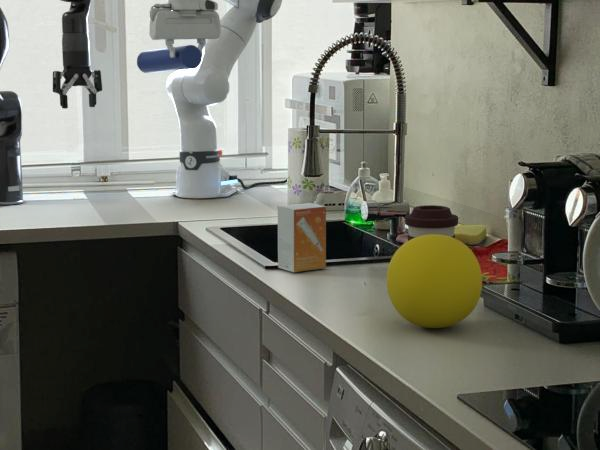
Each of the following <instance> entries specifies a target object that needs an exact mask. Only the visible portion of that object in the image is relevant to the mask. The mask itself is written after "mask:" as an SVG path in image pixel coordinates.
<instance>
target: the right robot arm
mask: <svg viewBox="0 0 600 450" xmlns="http://www.w3.org/2000/svg"><path fill="white" fill-rule="evenodd" d="M224 1H225V2H227V3H228V4H230V5H231V6H232V7H230V9H229V10H228V11H227V12H226V13H225V14H224V15H223V16H222V18H220V15H219V13H218V12H217V11H218V9H219V4H218V2H216V1H214V0H167V3H154V5H152V6H151V7H150V8H149V19H150V20H149V33H148V34H149V38H150V39H151V40H152V41H165V46H166V48H168V49H169V51H170V57H171V58H175V57H178V51H175V49H174V47H175V46H174V44H175V41H176V40H196V43H197V44H198V45H197V48H198V49H199V50H200V52H201V56H202V58H201V63H200V64H199V66H198V67H196V68H193V69H183V70H175V71H173V73H171V74H170V75H169V76H168V77H167V79H166V84H165V88H166V93H167V94H168V96H169V98H170V99H171V101H172V102H173V105H174V108H175V112H176V115H177V119H178V124H179V138H180V150H179V154H178V158H179V162H180V164H179V166H178V167H177V168H176V172H175V174H176V175H175V190H173V191H172V192H171V193H172V194H171V195H173V196H176V197H178V198H185V199H212V198H213V199H214V198H227V197H228V198H229V197H230V196H231V195H233V194H235V193H236V192H237V191H238V187H236V186H231V185H233V184H238V183H239V184H240V186H241V188H242V189H243V190H248V189H251V188H253V187H256V186H265V185H282V184H286V183H288V182H287V178H286V179H285V180H277V181H259V182H254V183H251V184H250V185H248V186H246V185H245V184H244V181H243V180H242V179H241V178H239V177H238V175H237V174H231V173H229V171H228V170H227V169H226V168H225V166H223V164H221V162H220V161H221V158H220V157H223V150H222V149H218V146H217V145H218V141H217V138H218V137H217V125H216V122H215V120H214V119H213V118H212V115H211V114H210V109H209V107H210V106H214V105H217V104H220V103H223V102H224V101H225V100H226V99H227V98H228V96H229V93H230V87H231V86H230V82H229V79H230V76H231V72H232V70H233V68H234V66H235V64H236V62H237V61H238V59H239V58H240V56H241V55H242V53H243V51H244V50H245V48H246V47H247V45H248V43H249V41H250V40H251V38H252V36H253V34H254V32H255V31H256V28H257V25H258V24H260V23H263V22H264V21H268V20H270V19H272V18H274V17H275V16H276V15H277V14H278V12H279V10H280V8H281V6H282V4H283V3H282V2H283V0H224Z"/></svg>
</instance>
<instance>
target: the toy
mask: <svg viewBox="0 0 600 450" xmlns="http://www.w3.org/2000/svg"><path fill="white" fill-rule="evenodd" d="M482 275H483V274H482V269H481V265H480V262H479V260H478V258H477V256H476V255H475V253H474V252H473V251H472V249H470V248H469V246H468V245H466V244H465V243H464V242H463V241H461V240H460V239H457V238H456V237H455V238H452V237H449V236H445V235H438V234H430V235H423V236H419V237H416V238H413V239H411V240H409V241H408V240H407V241H406V242H404V243H403V244H402V245H400V246H399V247H398V248H397V249H396V251H395V252H394V253H393V255H392V257H391V259H390V262H389V264H388V268H387V272H386V289H387V295H388V297H389V299H390V302H391V305H392V306H393V308H394V309H395V311H396V312H397V313H398V314H399V315H400V316H401V317H402V318H403V319H404V320H406V321H407V322H409V323H411V324H413V325H415V326H419V327H423V328H427V329H443V328H449V327H451V326H454V325H456V324H458V323H460V322H462V321H463V320H465V319H466V318H467V317H469V316H470V315H471V314H472V312H473V311H474V310H475V308H476V307H477V305H478V303H479V300H480V299H481V294H482V290H483V276H482Z"/></svg>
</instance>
